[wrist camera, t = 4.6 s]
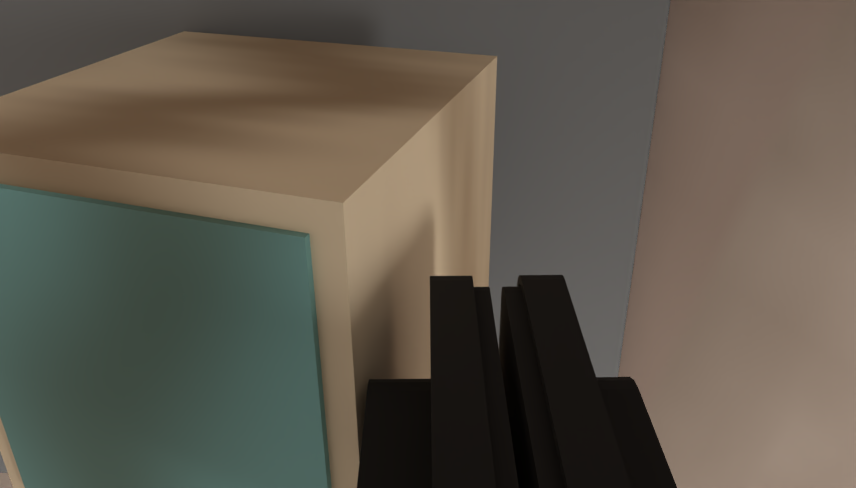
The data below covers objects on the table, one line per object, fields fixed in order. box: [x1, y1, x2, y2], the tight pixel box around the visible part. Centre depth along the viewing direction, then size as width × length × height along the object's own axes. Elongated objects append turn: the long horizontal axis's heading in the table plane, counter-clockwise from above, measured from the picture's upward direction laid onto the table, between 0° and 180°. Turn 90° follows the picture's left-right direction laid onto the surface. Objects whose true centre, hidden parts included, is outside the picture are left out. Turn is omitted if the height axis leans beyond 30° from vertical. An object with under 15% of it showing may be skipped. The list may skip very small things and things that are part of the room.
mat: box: [0, 0, 670, 473], centre depth 16 cm, size 24×16×1 cm, turn 90°
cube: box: [0, 31, 497, 488], centre depth 12 cm, size 6×6×6 cm
